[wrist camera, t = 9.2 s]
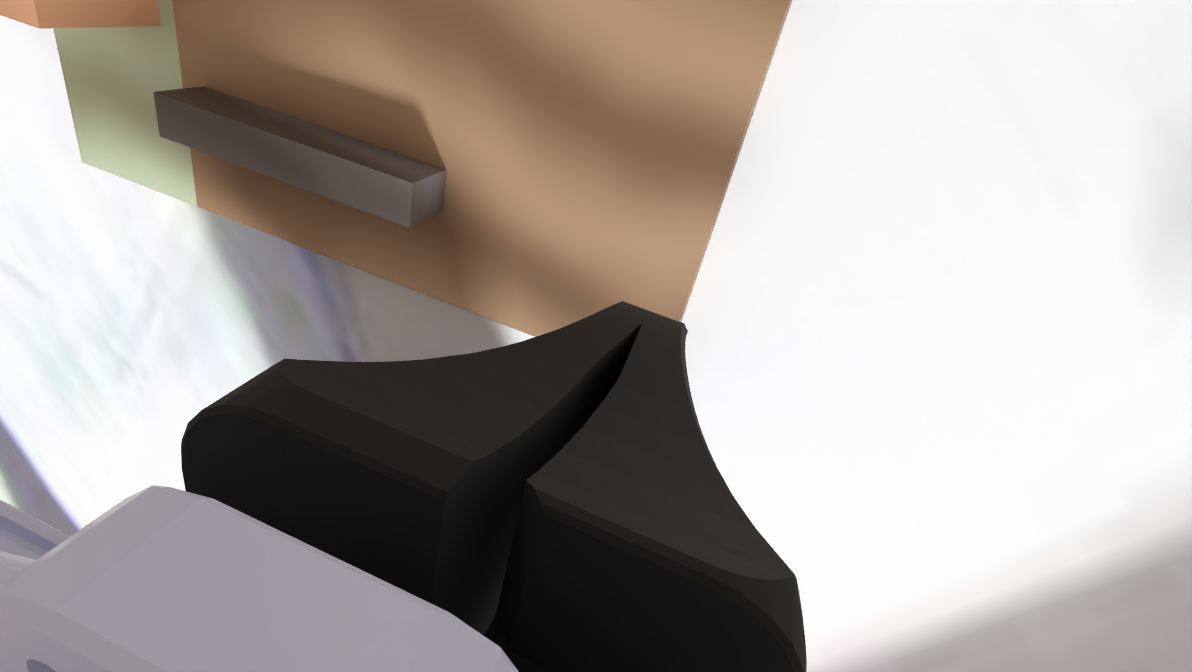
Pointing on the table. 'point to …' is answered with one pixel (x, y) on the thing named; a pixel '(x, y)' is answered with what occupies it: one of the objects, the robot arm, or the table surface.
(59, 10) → the terracotta block
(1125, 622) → the table surface
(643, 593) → the robot arm
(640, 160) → the board
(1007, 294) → the table surface
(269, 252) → the table surface
